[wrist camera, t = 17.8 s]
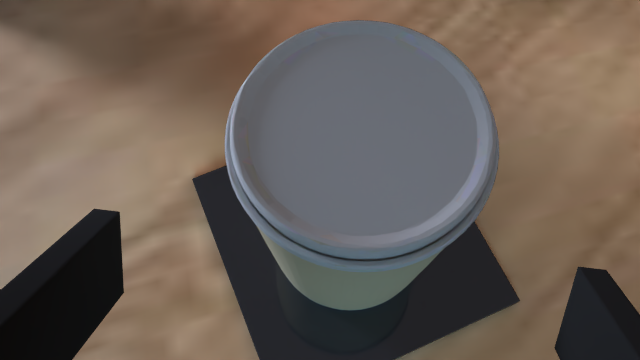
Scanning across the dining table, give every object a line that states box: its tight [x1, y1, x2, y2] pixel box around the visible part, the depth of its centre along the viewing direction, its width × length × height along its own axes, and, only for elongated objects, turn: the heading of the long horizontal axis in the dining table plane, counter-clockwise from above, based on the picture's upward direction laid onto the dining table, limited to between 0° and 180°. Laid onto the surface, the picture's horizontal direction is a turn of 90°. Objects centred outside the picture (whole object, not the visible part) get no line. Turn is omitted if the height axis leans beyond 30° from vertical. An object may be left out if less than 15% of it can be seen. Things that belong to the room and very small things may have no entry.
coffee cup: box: [225, 20, 499, 310], centre depth 24 cm, size 9×9×12 cm
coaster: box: [192, 166, 520, 360], centre depth 30 cm, size 13×13×1 cm
